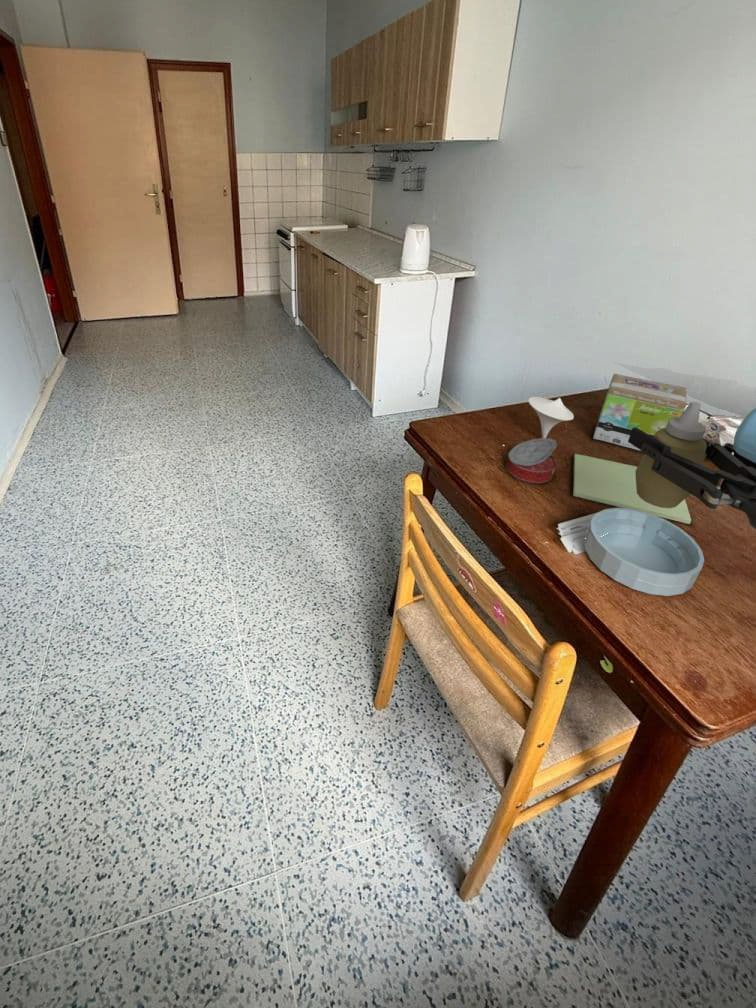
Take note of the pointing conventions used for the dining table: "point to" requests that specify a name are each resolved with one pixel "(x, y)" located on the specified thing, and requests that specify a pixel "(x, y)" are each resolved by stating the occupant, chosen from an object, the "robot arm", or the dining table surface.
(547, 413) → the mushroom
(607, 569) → the bowl
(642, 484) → the squeeze bottle
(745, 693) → the dining table surface
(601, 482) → the mat
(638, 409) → the tea box
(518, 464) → the canned food
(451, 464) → the dining table surface
